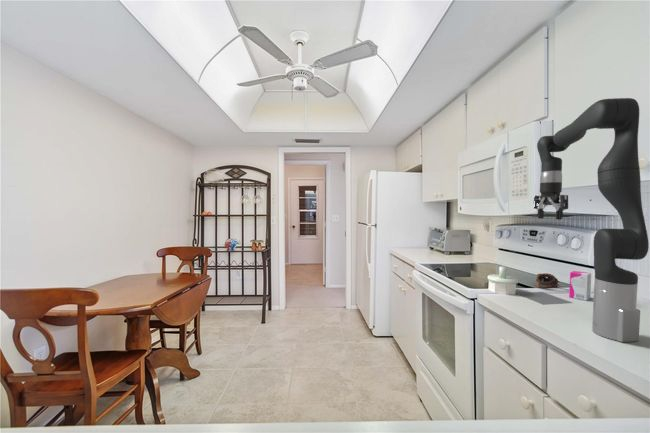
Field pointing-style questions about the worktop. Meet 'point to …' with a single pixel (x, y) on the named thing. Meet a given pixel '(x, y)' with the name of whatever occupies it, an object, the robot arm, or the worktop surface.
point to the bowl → (502, 288)
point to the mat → (543, 298)
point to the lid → (502, 277)
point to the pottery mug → (546, 280)
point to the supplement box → (580, 285)
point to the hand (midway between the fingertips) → (549, 218)
